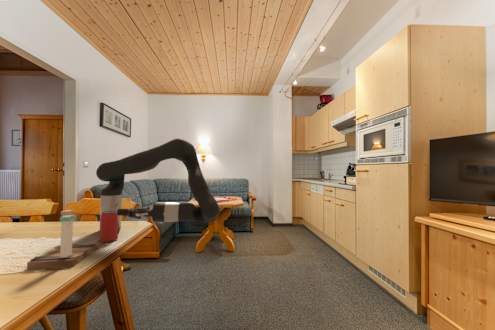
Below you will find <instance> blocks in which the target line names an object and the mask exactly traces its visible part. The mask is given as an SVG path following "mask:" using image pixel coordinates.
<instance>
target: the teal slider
mask: <svg viewBox="0 0 495 330" xmlns="http://www.w3.org/2000/svg"><path fill="white" fill-rule="evenodd" d="M75 219H76V215H75V214H72V215H66V216H63V217H62V216H60V217H59V222H60V225H61V226H60V245H61V247H60V258H63V257H68V256H70V255H71V254H72V244H73V235H74V234H73V232H74V231H73V230H74V220H75Z"/></svg>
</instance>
